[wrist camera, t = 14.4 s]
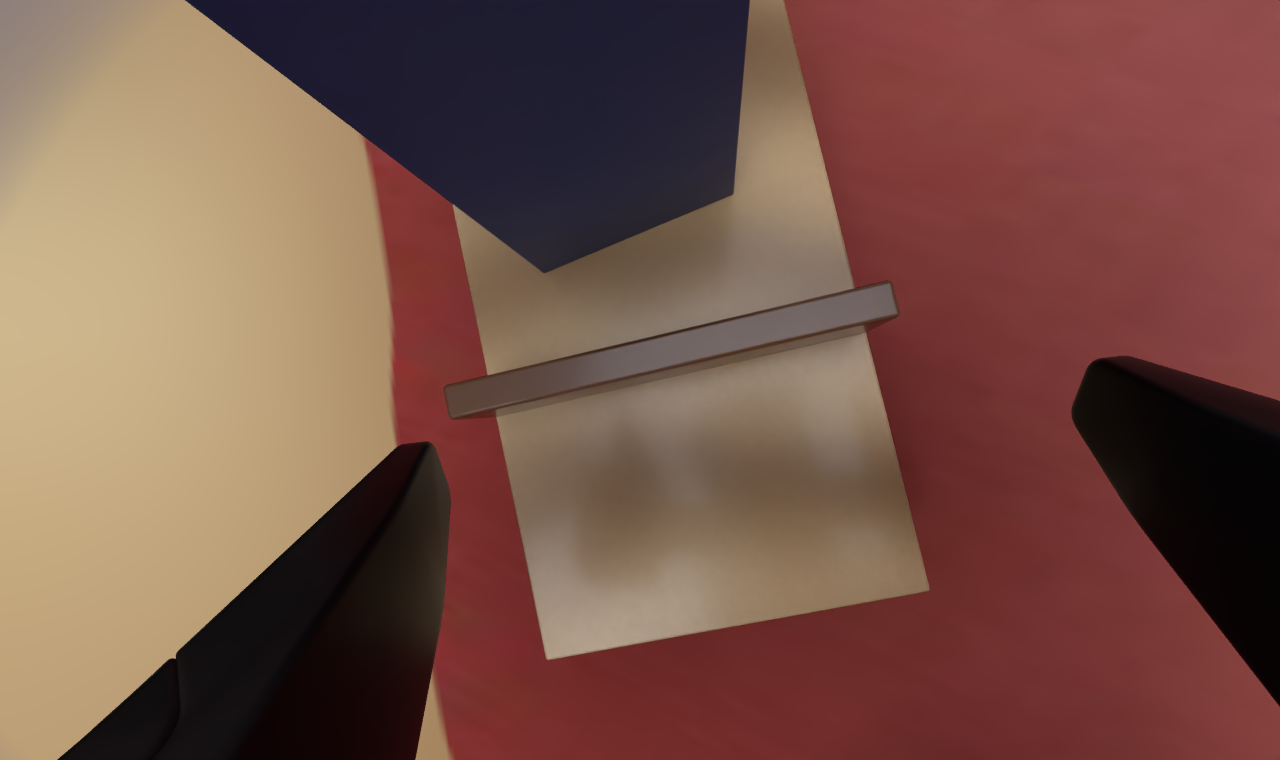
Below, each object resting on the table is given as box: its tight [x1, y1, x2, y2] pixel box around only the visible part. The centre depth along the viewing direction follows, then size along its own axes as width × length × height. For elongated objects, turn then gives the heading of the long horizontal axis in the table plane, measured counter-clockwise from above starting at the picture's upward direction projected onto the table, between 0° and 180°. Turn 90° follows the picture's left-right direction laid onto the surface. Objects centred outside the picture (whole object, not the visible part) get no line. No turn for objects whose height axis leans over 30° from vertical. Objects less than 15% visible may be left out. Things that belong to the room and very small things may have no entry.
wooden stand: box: [444, 0, 930, 660], centre depth 17 cm, size 18×10×8 cm, turn 13°
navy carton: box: [186, 0, 750, 273], centre depth 11 cm, size 5×6×12 cm
